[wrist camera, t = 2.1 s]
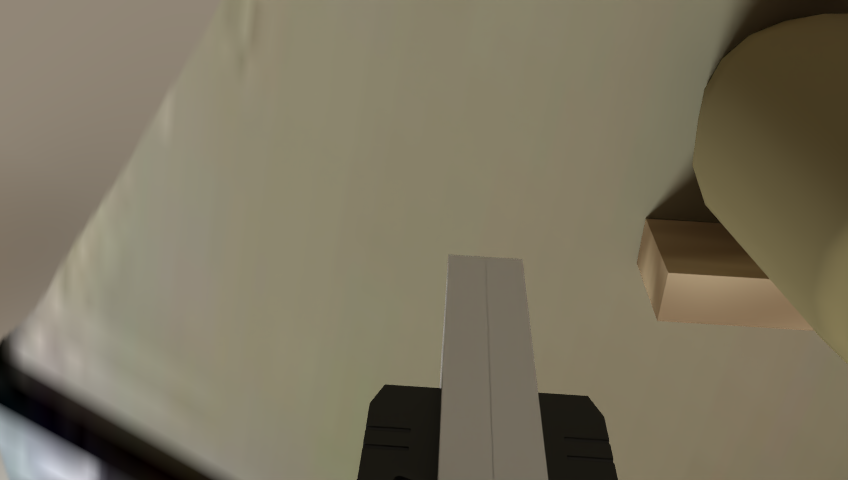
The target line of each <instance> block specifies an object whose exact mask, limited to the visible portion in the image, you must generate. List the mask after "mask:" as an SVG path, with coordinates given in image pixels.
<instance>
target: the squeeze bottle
mask: <svg viewBox="0 0 848 480" xmlns="http://www.w3.org/2000/svg"><path fill="white" fill-rule="evenodd" d="M692 166H693V169H694V172H695V175H696V178H697V181H698V184H699V187H700V190H701V193H702V196H703V199H704V202H705V205H706V206H707V207H708V208H709V210H710V211H711V212H712V213H713V214H714V215H715V216H716V218H717V219H718V220H719V221H720V222H721V223H722V225H723V226H724V227H725V228H726V229H727V230H728V231H729V233H730V234H731V235H732V236H733V237H734V238H735V240H736V241H737V242H738V243H739V244H740V245H741V246H742V248H743V249H744V250H745V251H746V252H747V253H748V255H749V256H750V257H751V258H752V259H753V260H754V261H755V263H756V264H757V265H758V266H759V267H760V268H761V270H762V271H763V272H764V273H765V274H766V275H767V276H768V278H769V279H770V280H771V281H772V282H773V283H774V285H775V286H776V287H777V288H778V289H779V290H780V291H781V293H782V294H783V295H784V296H785V297H786V298H787V299H788V301H789V302H790V303H791V304H792V305H793V306H794V308H795V309H796V310H797V311H798V312H799V313H800V314H801V316H802V317H803V318H804V319H805V320H806V321H807V323H808V324H809V325H810V326H811V327H812V328H813V329H814V331H815V332H816V333H817V334H818V335H819V336H820V338H821V339H822V340H823V341H824V342H826V343H827V344H828V345H829V346H830V347H831V348H832V349H833V350H834V351H835V352H836V353H837V354H838V355H839V356H840V357H841V358H842V359H843V360H844V361H845V362H846V363H847V364H848V13H839V14H820V15H814V16H809V17H804V18H798V19H793V20H787V21H783V22H781V23H778V24H776V25H773V26H771V27H768V28H766V29H763V30H761V31H758V32H756V33H753V34H751V35H749V36H748V37H747V38H745V39H744V40H743V41H742V42H741V43H740V44H739V45H737V46H736V47H735V48H734V49H733V50H732V51H730V52H729V53H728V54H727V55H726V56H725V57H724V58H722V59H721V61H720V63H719V65H718V66H717V68H716V70H715V72H714V73H713V75H712V77H711V79H710V81H709V82H708V84H707V86H706V88H705V90H704V95H703V99H702V104H701V109H700V114H699V118H698V126H697V133H696V140H695V148H694V155H693V163H692Z"/></svg>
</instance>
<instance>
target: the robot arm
mask: <svg viewBox="0 0 848 480" xmlns="http://www.w3.org/2000/svg"><path fill="white" fill-rule="evenodd" d="M357 480H618V478H617V474H616V469H615V464H614V463H613V455H612V451H611V446H610V444H609V437H608V433H607V428H606V423H605V419H604V416H603V415H602V414H601V412H600V411H599V410H598V409H597V407H596V406H595V405H594V403H593V402H592V401H591V400H590V398H589V397H588V396H579V395H564V394H549V393H538V388H537V379H536V371H535V362H534V354H533V345H532V337H531V328H530V320H529V311H528V303H527V294H526V285H525V277H524V268H523V260H522V259H512V258H495V257H479V256H463V255H448V269H447V284H446V299H445V313H444V328H443V343H442V358H441V377H440V388H429V387H414V386H398V385H384V386H383V388H382V389H381V390H380V391H379V393H378V394H377V395H376V396H375V398H374V399H373V400H372V401H371V403H370V406H369V412H368V418H367V424H366V430H365V436H364V442H363V448H362V454H361V461H360V467H359V473H358V479H357Z"/></svg>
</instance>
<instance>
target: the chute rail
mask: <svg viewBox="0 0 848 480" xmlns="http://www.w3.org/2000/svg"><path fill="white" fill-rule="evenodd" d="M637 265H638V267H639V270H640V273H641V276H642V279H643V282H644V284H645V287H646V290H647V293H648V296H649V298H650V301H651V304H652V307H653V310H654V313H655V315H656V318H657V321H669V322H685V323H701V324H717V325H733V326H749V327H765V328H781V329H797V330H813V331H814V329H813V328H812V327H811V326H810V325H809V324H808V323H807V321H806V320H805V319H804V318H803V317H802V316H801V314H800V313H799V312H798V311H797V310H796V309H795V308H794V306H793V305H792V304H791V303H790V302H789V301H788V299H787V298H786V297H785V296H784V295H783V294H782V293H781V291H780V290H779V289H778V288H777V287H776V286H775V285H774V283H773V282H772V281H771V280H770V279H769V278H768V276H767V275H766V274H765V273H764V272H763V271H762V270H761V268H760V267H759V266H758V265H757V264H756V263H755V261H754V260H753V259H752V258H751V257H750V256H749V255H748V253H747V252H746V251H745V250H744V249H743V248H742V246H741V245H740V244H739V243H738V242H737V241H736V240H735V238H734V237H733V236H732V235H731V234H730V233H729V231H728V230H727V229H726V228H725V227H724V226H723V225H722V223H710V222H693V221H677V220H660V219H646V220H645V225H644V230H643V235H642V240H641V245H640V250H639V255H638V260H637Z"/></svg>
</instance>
